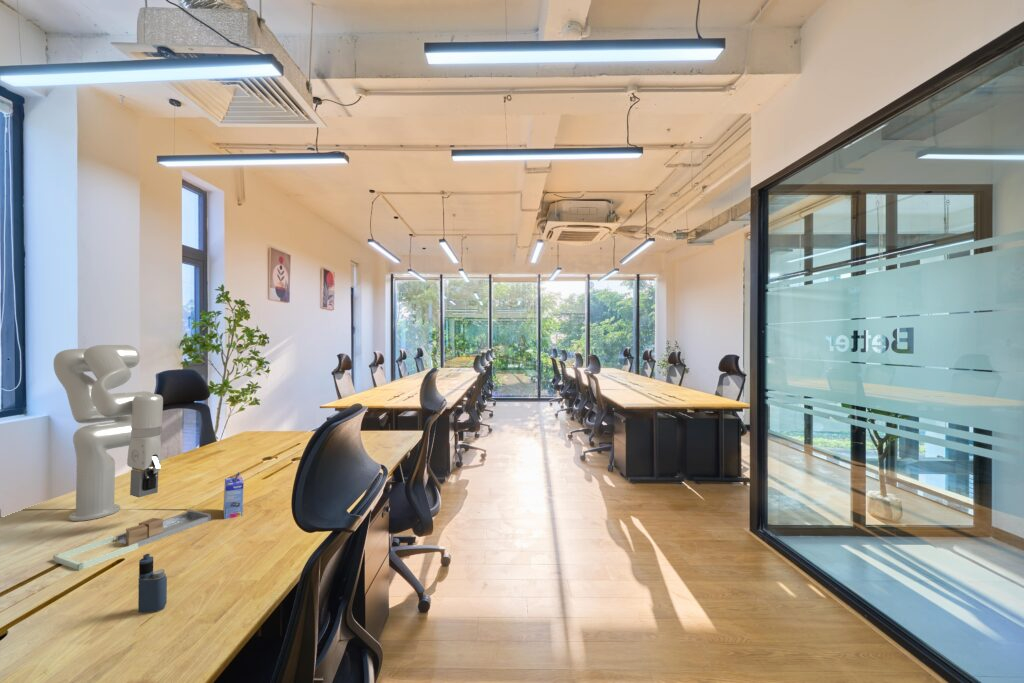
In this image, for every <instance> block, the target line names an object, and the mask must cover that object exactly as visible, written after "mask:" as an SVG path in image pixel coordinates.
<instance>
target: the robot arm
mask: <svg viewBox="0 0 1024 683" xmlns="http://www.w3.org/2000/svg"><path fill="white" fill-rule="evenodd" d="M140 360H141V355H140V352H139V351H138V349H137V348H136V347H134V346H132V345H127V344H122V345H121V344H98V345H92V346H90V347H88V348H69V349H64V350H61V351H59V352H57V353H56V354H55V356H54V358H53V370H54V374H55V376H56V378H57V380H58V381H59V382H60V384H61V385H62V387H63V388H64V390H65V393H66V396H67V399H68V404H69V408H70V411H71V414H72V416H73V419H74V421H75V422H77V423H79V424H89V425H85V426H81V427H79V428H78V429H77V430H76V431H75V432H74V433H73V436H72V442H73V445H74V453H75V458H76V459H75V460H76V461H75V462H76V481H75V482H76V485H75V489H76V490H75V494H76V495H75V511H74V512H72V513H70V514H69V516H68V520H69V521H72V522H80V521H81V522H82V521H89V520H94V519H99V518H103V517H107V516H110V515H112V514H115V513H117V512H119V511H120V510H121V505H119V504H117V503H115V493H116V492H115V489H116V487H115V486H116V484H115V483H116V477H115V476H116V462H115V459H114V458H113V456H111V455H110V454H109V453H108V452H107V451H108V450H112V449H118V448H123V447H124V448H125V447H128V451H127V462H126V465H127V467H129V468H131V469H132V468H135V469H139V470H144V472H145V478H144V479H143V491H147V490H151V489H154V488H156V476H157V473H158V474H159V472H160V470H161V464H162V442H161V441H162V440H161V436H162V428H163V408H164V398H163V396H162V395H161V394H157V393H153V392H150V391H132V392H130V391H129V392H118V393H110V392H109V391H111V390H113V389H116V388H119V387H120V386H123V385H124V384H126V383H127V382H128V381H130V379H131V377H132V370H131V369H132V368H135V367H136V366H138V365H139V363H140ZM86 372H87V373H88V372H91V373H92V374H93V375H94V377H95V378H96V379H97V380H95V379H94V378H92V377H91V376H90V375H87V374H86ZM149 466H153V467H151V468H149ZM150 469H153V470H151V471H150V472H149V471H148V470H150Z"/></svg>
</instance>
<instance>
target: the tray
mask: <svg viewBox="0 0 1024 683" xmlns="http://www.w3.org/2000/svg"><path fill="white" fill-rule="evenodd" d="M114 542H115V536H114V535H112V536H108V537H106V538H102V539H100V540H96V541H93V542H91V543H88V544H85V545H81V546H78V547H75V548H72V549H70V550H69V549H68V550H65V551H63V552H60V553H57V554H54V555H52V558H53V559H52V561H53V562H54V563H56V564H57V563H58V564H60V565H63V566H65V567H69V568H71V569H74V570H75V571H76V570H77V571H81V570H84V569H87V568H90V567H93V566H95V565H97V564H101V563H103V562H106V561H108V560H111V559H114V558H116V557H119V556H122V555H124V554H127V553H130V552H133V551H136V550H138V548H139V547H138V543H135V544H132V545H130V546H128V545H127V546H124V547H122V548H118V549H116V550H113V551H110V552H108V553H105V554H103V555H99V556H96V557H94V558H91V559H88V560H85V561H83V562H81V561H78V560H75V559H72V558H69V557H72V556H75V555H79V554H81V553H83V552H84V553H85V552H87V551H90V550H92V549H95V548H99V547H102V546H104V545H107V544H110V543H114Z"/></svg>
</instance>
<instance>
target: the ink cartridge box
mask: <svg viewBox="0 0 1024 683" xmlns="http://www.w3.org/2000/svg"><path fill="white" fill-rule="evenodd" d="M240 474H241V473H240V472H239V471H238V472H237V474H236V475H235V477H228V478H225V479H224V490H223V492H224V494H223V510H222V511H223V512H222V513H223V519H224V520H227V519H232V518H238V517H242V516H243V509H244V507H243V506H244V484H245V483H244V480H243V476H240Z"/></svg>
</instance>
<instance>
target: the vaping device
mask: <svg viewBox="0 0 1024 683" xmlns="http://www.w3.org/2000/svg"><path fill="white" fill-rule="evenodd" d="M138 562H139V564H138V566H139V568H138V586H137V587H138V588H137V589H138V604H137V608H138V610H137V613H140V614H141V613H142V614H143V613H157V612H160V611H162V610H164V609H165V607H166V605H167V601H168V600H167V599H168V598H167V596H168V590H167V589H168V588H167V587H168V577H167V576H166V573H165V569H158V570H155V571H154V556H151V555H150V553H145V554H143V556H142V558H141V559H139V561H138Z"/></svg>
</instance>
